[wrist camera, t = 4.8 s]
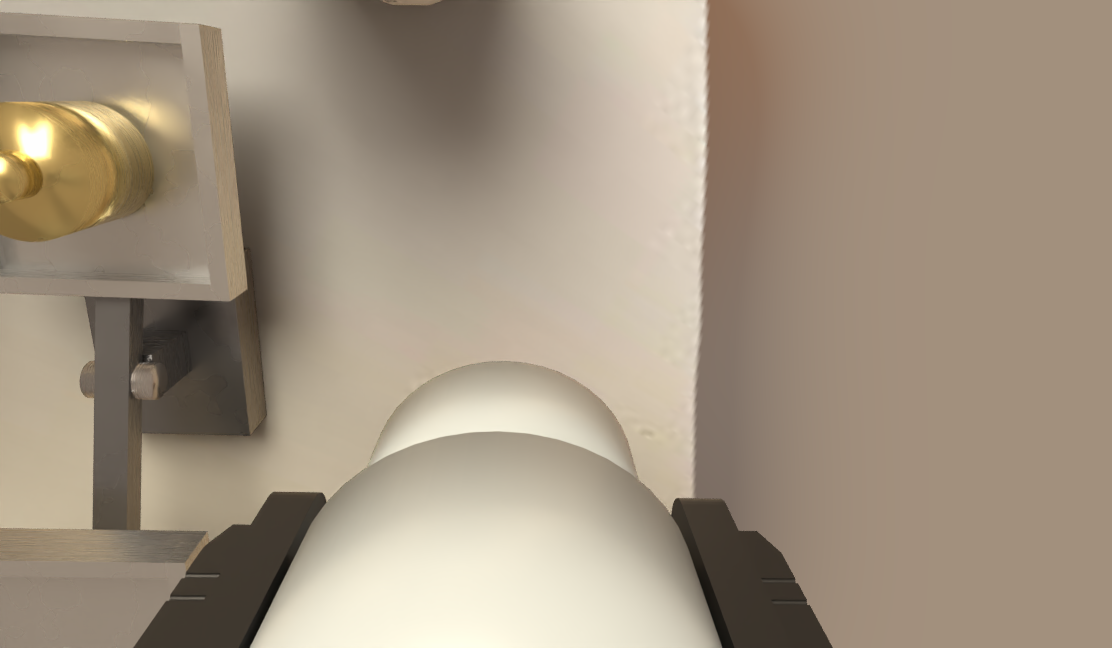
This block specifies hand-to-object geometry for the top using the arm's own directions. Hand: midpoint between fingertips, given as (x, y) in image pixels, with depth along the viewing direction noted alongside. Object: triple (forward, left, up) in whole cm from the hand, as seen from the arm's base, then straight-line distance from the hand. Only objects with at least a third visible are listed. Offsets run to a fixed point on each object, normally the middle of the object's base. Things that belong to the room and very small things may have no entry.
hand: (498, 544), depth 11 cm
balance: (-4, +15, -20) cm, 25 cm away
